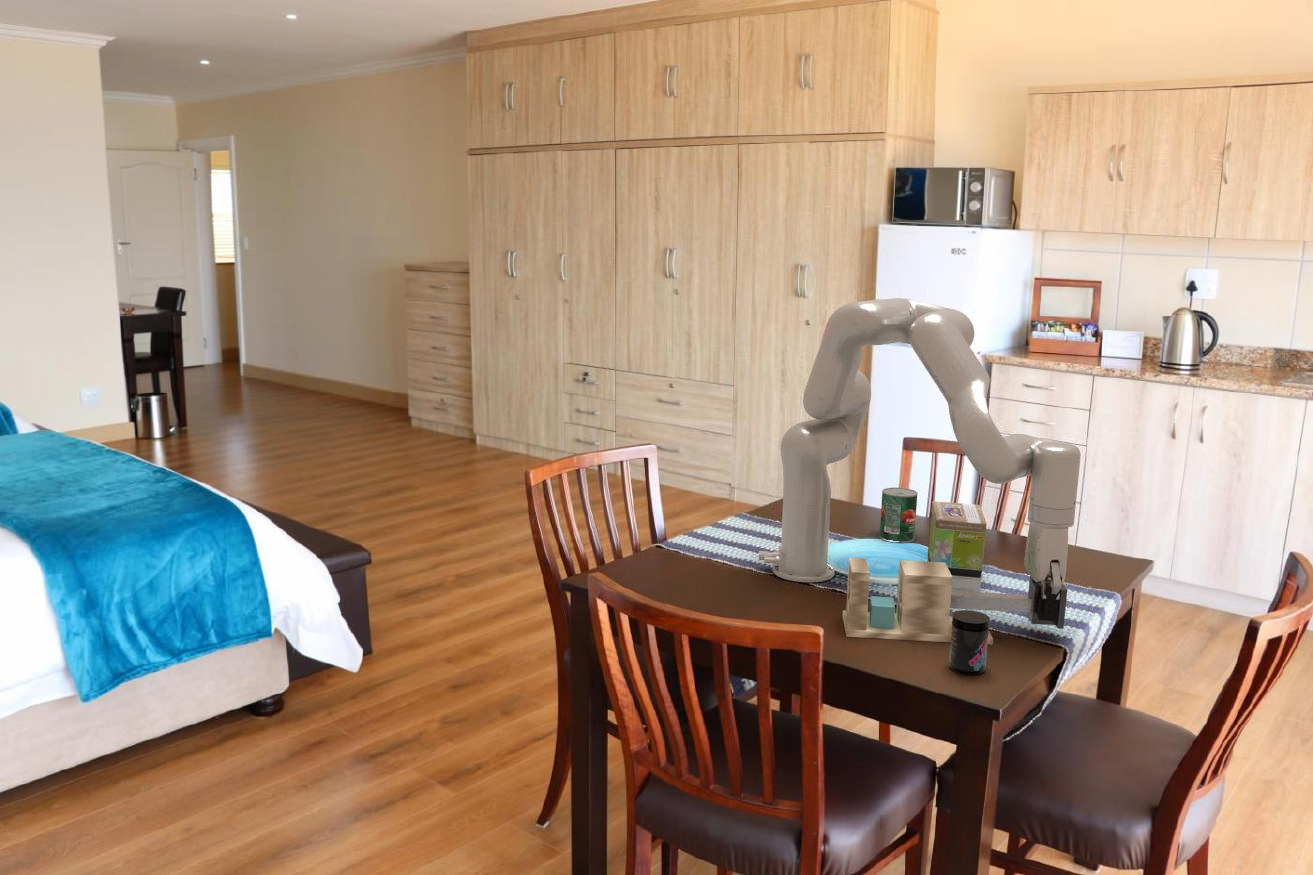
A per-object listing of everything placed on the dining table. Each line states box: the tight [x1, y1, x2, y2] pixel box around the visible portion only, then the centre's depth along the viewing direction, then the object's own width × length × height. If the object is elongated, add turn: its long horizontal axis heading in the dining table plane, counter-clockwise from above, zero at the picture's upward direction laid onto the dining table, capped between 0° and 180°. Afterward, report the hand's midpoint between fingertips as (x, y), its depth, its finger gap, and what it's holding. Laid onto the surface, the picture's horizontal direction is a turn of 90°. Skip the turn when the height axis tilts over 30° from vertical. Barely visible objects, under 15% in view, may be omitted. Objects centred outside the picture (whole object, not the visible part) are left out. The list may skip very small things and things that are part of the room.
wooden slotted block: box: [842, 557, 994, 646], centre depth 190 cm, size 25×10×12 cm, turn 84°
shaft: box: [950, 577, 1068, 630], centre depth 189 cm, size 26×7×7 cm, turn 84°
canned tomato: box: [878, 486, 918, 544], centre depth 245 cm, size 8×8×11 cm
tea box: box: [926, 501, 987, 592], centre depth 216 cm, size 15×10×15 cm, turn 168°
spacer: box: [869, 595, 896, 629], centre depth 191 cm, size 4×5×4 cm
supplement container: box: [948, 609, 991, 676], centre depth 174 cm, size 6×6×9 cm
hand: (1042, 611), depth 188 cm, fingers open, 6 cm apart
